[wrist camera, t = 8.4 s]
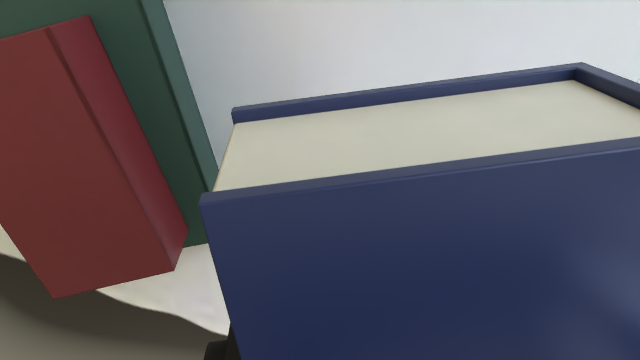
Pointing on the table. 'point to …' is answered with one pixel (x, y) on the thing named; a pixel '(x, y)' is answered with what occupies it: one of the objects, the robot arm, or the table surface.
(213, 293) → the table surface
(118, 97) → the burgundy book
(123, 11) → the green book
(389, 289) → the navy book
